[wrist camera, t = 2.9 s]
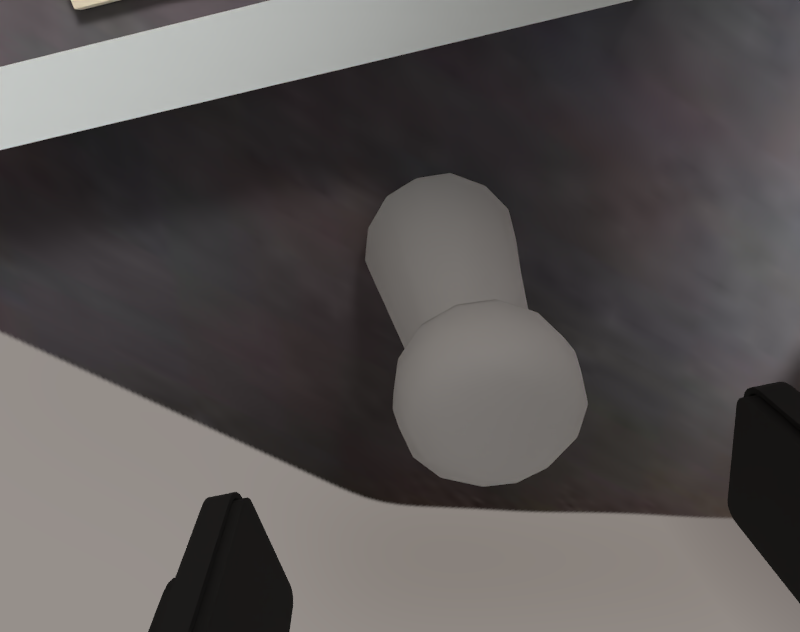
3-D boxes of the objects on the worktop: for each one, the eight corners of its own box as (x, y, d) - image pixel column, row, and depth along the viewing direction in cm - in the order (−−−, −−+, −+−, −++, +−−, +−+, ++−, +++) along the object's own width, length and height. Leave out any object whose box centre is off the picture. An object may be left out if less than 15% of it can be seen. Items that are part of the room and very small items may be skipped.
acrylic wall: (649, -77, 18) (741, -117, 13) (648, -9, 19) (734, -24, 14) (-15, 85, 19) (-133, 99, 15) (15, 141, 20) (-88, 170, 16)
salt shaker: (345, 189, 21) (312, 362, 10) (480, 139, 21) (613, 261, 9) (394, 309, 24) (413, 555, 13) (515, 268, 23) (653, 488, 12)
